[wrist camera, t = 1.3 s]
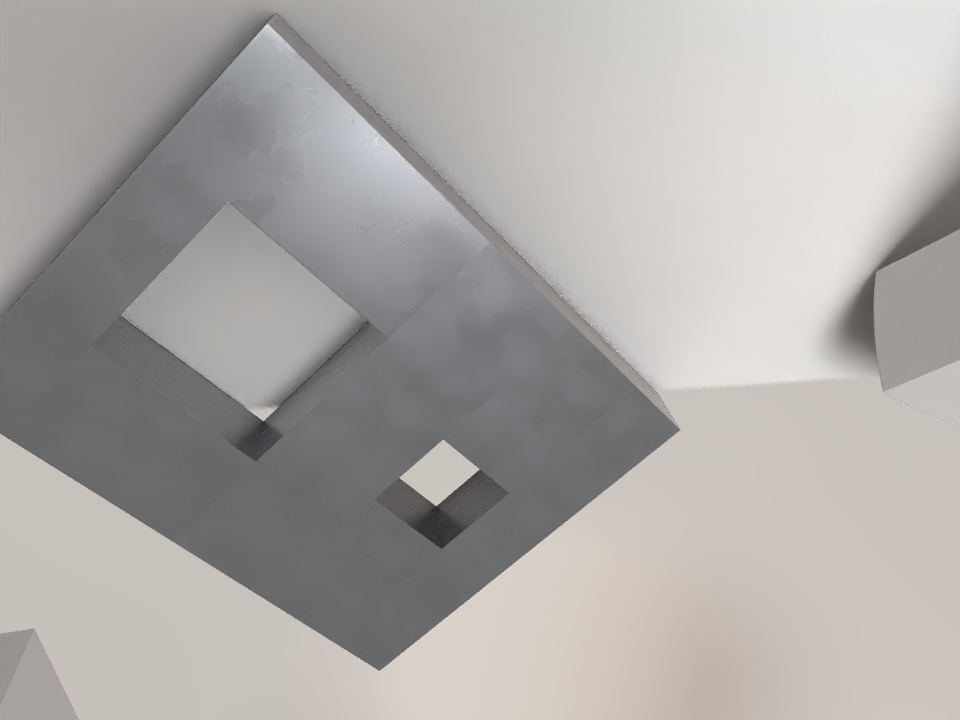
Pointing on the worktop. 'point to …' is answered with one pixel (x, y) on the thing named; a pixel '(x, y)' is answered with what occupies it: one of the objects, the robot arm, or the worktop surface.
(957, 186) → the worktop surface
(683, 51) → the worktop surface
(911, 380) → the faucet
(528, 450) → the socket plate
